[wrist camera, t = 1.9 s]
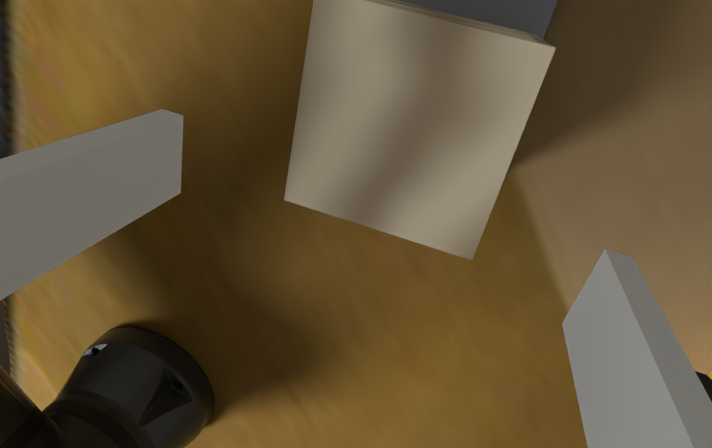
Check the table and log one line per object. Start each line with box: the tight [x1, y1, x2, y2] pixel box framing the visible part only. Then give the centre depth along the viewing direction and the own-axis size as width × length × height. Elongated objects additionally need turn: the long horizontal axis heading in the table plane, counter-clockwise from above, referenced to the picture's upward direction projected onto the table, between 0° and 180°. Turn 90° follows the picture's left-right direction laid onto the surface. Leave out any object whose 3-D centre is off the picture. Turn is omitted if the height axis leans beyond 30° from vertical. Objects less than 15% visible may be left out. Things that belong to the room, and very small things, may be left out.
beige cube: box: [284, 0, 556, 260], centre depth 25 cm, size 10×10×10 cm
